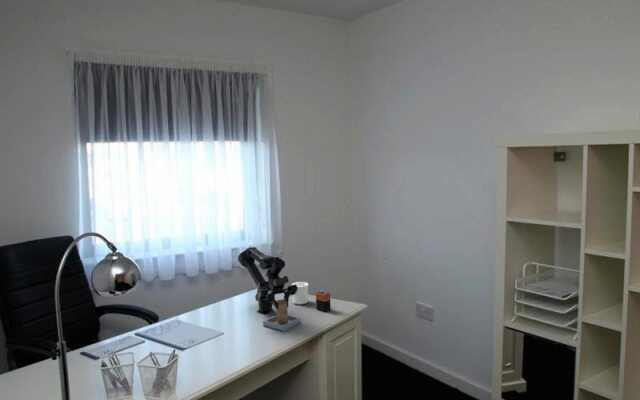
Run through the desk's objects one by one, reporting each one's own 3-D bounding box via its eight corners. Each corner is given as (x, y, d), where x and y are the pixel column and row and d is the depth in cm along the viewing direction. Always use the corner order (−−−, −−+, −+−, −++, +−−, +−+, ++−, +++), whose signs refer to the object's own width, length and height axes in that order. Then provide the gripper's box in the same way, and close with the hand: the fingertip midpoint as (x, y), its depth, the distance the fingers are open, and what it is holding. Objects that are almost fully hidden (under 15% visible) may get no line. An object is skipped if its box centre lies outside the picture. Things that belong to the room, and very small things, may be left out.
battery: (321, 307, 247) (321, 288, 245) (331, 310, 242) (330, 291, 241) (315, 309, 244) (315, 290, 242) (325, 312, 239) (324, 293, 238)
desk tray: (263, 326, 223) (263, 321, 222) (280, 317, 233) (280, 313, 232) (283, 331, 215) (283, 326, 215) (300, 323, 225) (300, 318, 225)
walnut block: (276, 322, 225) (275, 300, 224) (284, 321, 227) (283, 299, 225) (279, 325, 221) (278, 303, 220) (287, 324, 223) (287, 301, 222)
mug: (309, 300, 259) (309, 281, 257) (307, 305, 250) (307, 286, 249) (290, 299, 260) (289, 281, 259) (287, 305, 251) (286, 286, 250)
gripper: (258, 273, 221) (266, 302, 212) (295, 268, 228) (305, 296, 220) (254, 285, 229) (262, 314, 220) (290, 280, 236) (299, 307, 228)
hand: (282, 307), depth 222 cm, fingers open, 5 cm apart
